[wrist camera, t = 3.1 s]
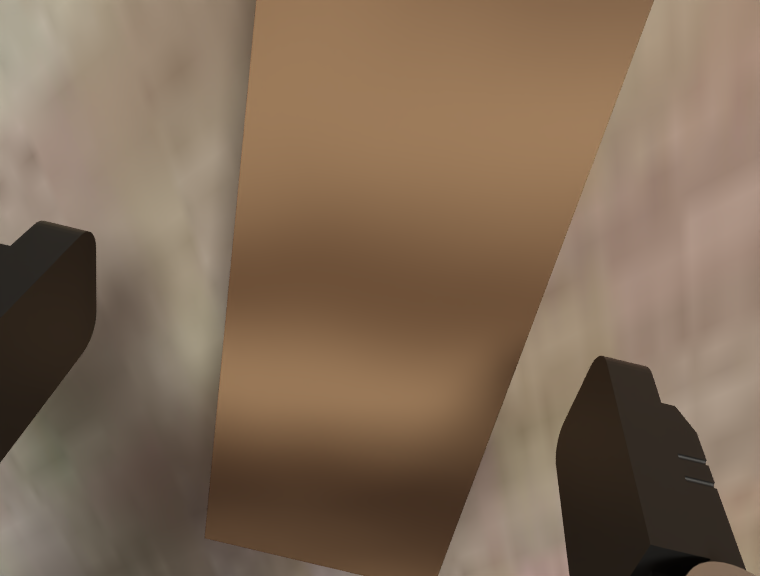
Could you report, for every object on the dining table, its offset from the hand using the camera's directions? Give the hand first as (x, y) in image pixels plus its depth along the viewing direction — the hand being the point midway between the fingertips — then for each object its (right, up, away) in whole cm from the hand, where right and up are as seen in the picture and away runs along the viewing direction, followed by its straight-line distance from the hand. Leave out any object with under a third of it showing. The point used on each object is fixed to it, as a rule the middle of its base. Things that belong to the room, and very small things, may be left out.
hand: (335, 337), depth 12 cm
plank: (+1, +4, +7) cm, 8 cm away
